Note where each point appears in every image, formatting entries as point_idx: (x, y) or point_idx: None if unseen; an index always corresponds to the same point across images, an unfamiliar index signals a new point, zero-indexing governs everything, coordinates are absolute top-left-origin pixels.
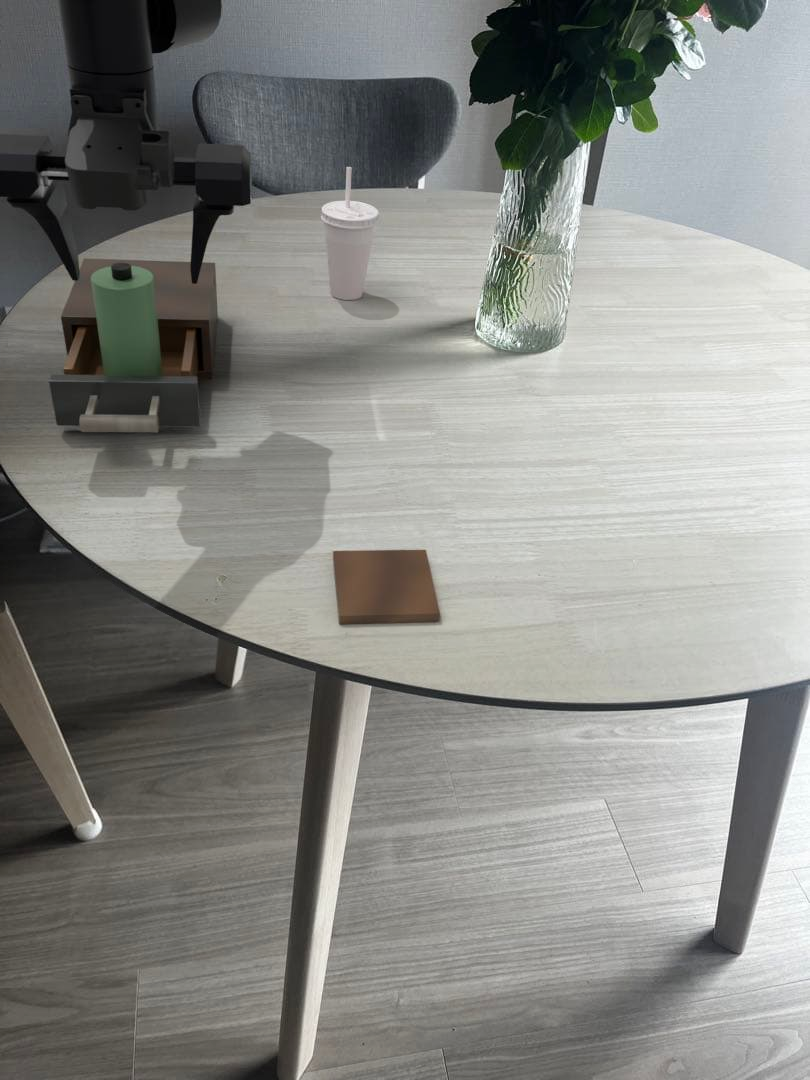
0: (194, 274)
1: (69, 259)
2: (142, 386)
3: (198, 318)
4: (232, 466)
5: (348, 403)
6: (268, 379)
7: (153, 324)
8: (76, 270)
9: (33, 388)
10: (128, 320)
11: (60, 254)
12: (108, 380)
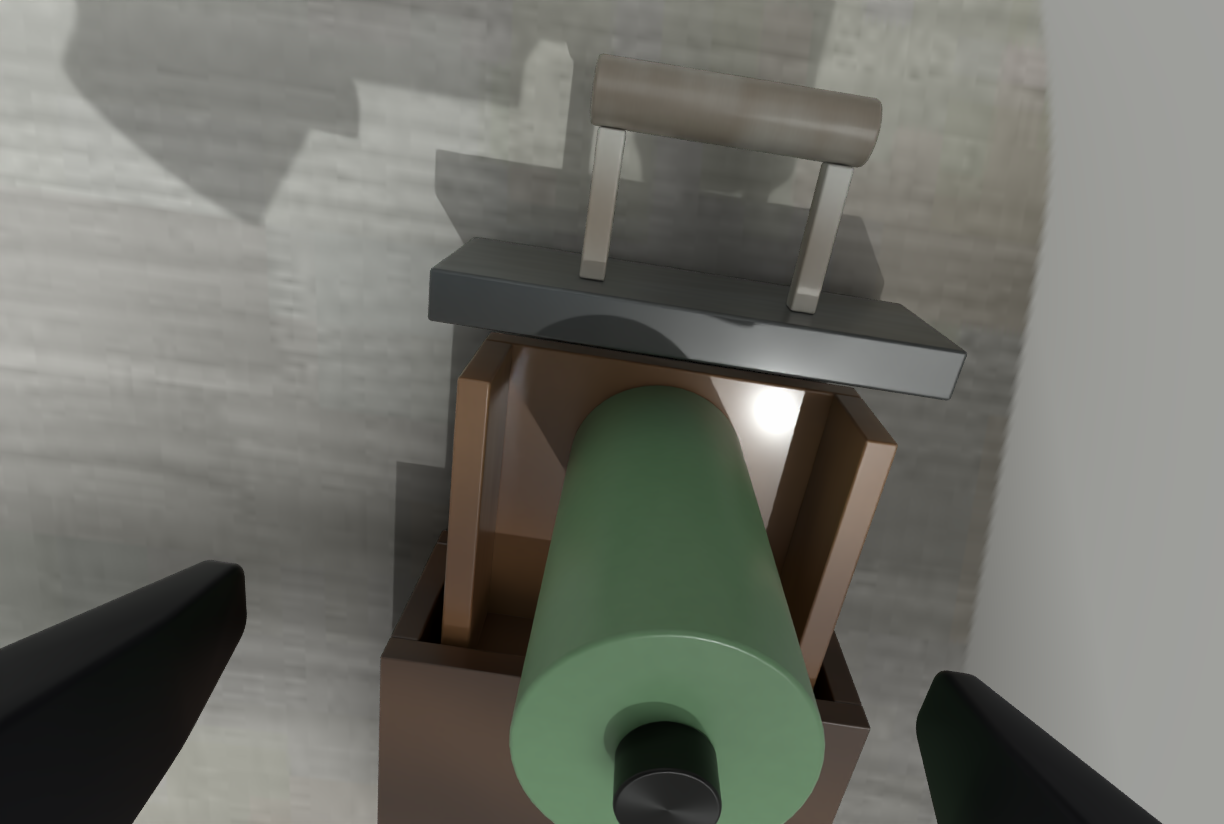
0: (174, 590)
1: (1058, 777)
2: (633, 294)
3: (416, 670)
4: (384, 28)
5: (45, 353)
6: (287, 508)
7: (557, 546)
8: (962, 726)
9: (921, 544)
10: (658, 529)
11: (1147, 818)
12: (754, 330)
